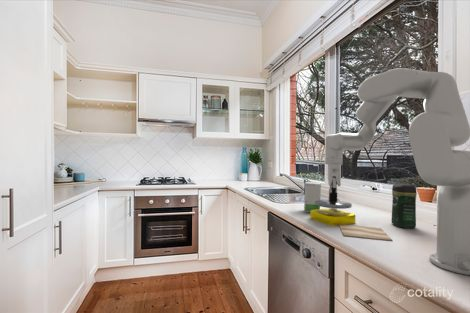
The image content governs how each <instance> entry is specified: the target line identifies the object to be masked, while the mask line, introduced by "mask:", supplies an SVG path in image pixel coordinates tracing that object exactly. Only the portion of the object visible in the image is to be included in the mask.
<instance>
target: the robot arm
mask: <svg viewBox="0 0 470 313" xmlns="http://www.w3.org/2000/svg"><path fill="white" fill-rule="evenodd" d="M458 88H459V87H458V85H457V82H456V79H455V78H454V77H453V76H452V75H451V74H450V73H448V72H443V71H426V70H420V69H412V68H405V67H397V68H393V69H390V70H387V71H384V72H380V73H377V74H375V75H372V76H369V77H367V78H366V79H365V80H363V81H362V82H361V83H360V84H359V86H358V89H357V92H356V94H357V98H358V99H359V100H360V101H361V102H362V103H361V104H360V106H359V107H358V108H357V109H356V111H355V117H357V119H358V120H359V121H361V123H363V125H362V126H361V128H360V130H358V132H356V133H352V132H338V133H336V134H328V135H326V136H325V148H324V149H325V151H324V152H325V154H324V155H325V157H324V165H327V184H328V186H329V189H330V201H331V202H337V200H338V187H341V182H342V181H341V178H342V176H341V166H343V158H344V157H343V151H360V150H362V149H364V148H365V147H366V146H367V145H368V144H369V143H370V142H371V141H372V140H373V138H374V137H375V134H376V131H377V130H376V129H377V121H378V120H380V118H381V117H382V116H383V115H384V113H386V111H387V110H388V109H389V108H390V107H391V105H392V104H393V103H394V102H395V101H396V100H397V98H398V97H401V98H408V99H409V98H410V99H411V98H412V99H424V100H423V111H424V112H422V113H420V114H418V115H416V116H415V117H414V118H413V119H412V120H411V122H410V124H409V127H408V140H409V145H410V150H411V151H412V152H411V153H412V157H413V159H414V164H415V167H416V168H415V169H416V171H417V173H418V175H419V177H420V178H421V179H422V181H423V182H425V183H427V184H429V185H431V186H438V187H440V189H439V191H438V195H437V207H436V253H432V254H430V255H429V261H430V263H432V264H433V265H435V266H437V267H439V268H441V269H444V270H447V271H449V272H454V273H457V274H461V275H466V276H470V151H468V150H461V149H460V150H458V149H452V147H458V146H460V147H461V146H462V145H464V144H466V143H467V142H468V141H469V140H470V123H469V120H468V116H467V114H466V110H465V108H464V104H463V102H462V98H461V95H460V92H459V89H458Z"/></svg>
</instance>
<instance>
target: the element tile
mask: <svg viewBox="0 0 470 313" xmlns="http://www.w3.org/2000/svg"><path fill="white" fill-rule="evenodd" d="M310 220H313V221H317V222H320V223H321V224H325V225H328V226H331V227H332V226H334V227H335V226H339V224H341V225H353V224H356V214H355V213H353V212H349V211H345V210H341V209H336V208H320V209H317V210H311V212H310Z"/></svg>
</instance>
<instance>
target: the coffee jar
mask: <svg viewBox="0 0 470 313" xmlns="http://www.w3.org/2000/svg"><path fill="white" fill-rule="evenodd" d="M391 187H392V188H391V190H392V191H391V193H392V201H391V202H392V204H391V205H392V207H391V208H392V209H391V224H392V225H394V226H395V227H399V228H403V229H416V227H417V214H416V213H417V212H416V210H417V209H416V208H417V203H416V202H417V195H418V194H417V187H416V186H414V185H413V184H409V183H404V182H400V183H399V182H398V183H397V182H396V183H395V184H393V185H392V186H391Z"/></svg>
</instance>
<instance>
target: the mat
mask: <svg viewBox="0 0 470 313" xmlns="http://www.w3.org/2000/svg"><path fill="white" fill-rule="evenodd" d="M338 227H339V228H340V231H341V234H342V235H343V237H349V238H358V239H359V238H360V239H369V240H380V241H388V242H390V241H391V242H393V239H392V238H391V236H389V234H387V233H386V232H385V231H384V229H382V227H373V226H372V227H371V226H361V225H360V226H359V225H353V224H345V225H341V224H339V225H338Z"/></svg>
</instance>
